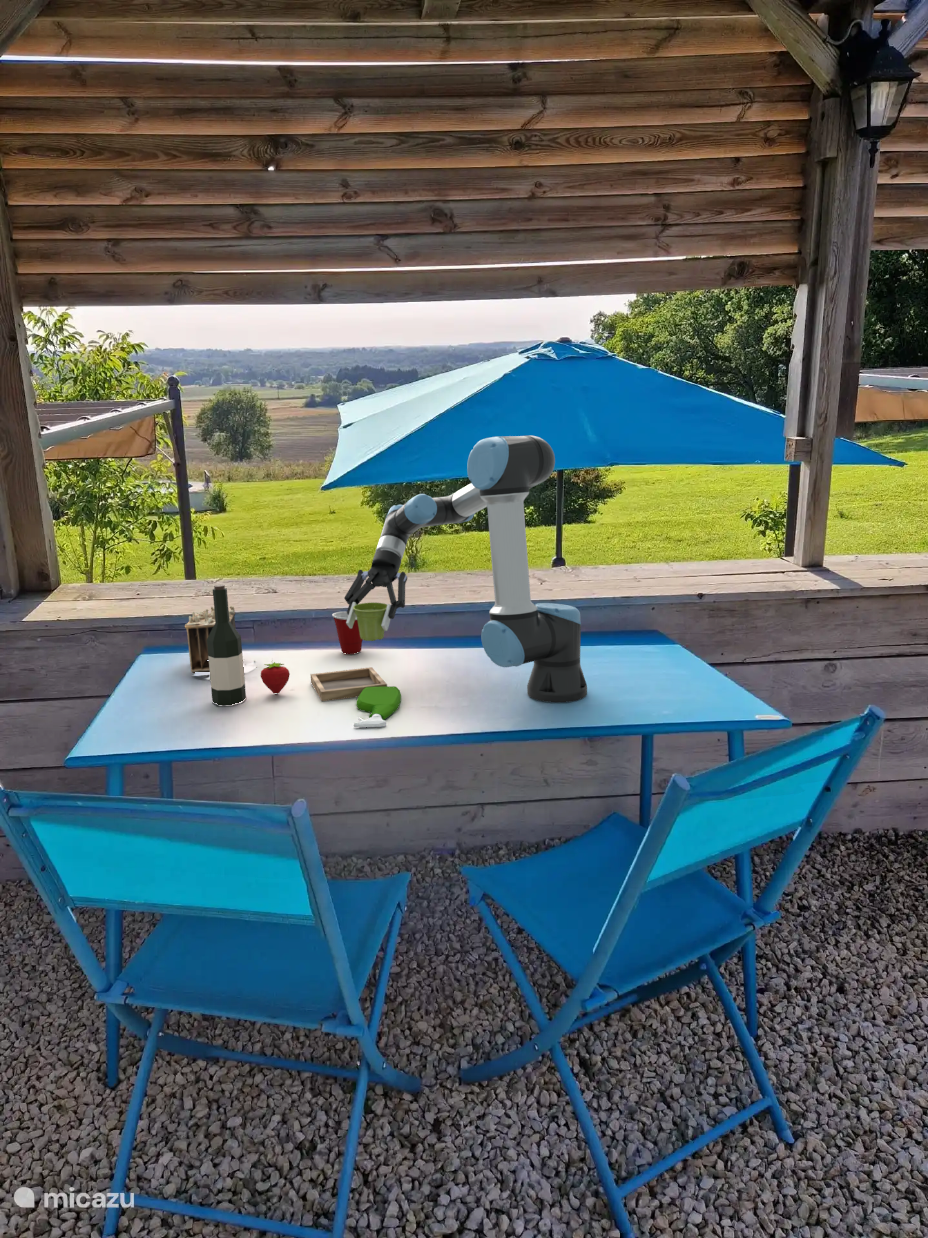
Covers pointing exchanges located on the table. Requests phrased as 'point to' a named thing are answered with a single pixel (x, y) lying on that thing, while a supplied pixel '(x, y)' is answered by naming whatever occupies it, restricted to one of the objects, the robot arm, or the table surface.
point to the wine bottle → (225, 654)
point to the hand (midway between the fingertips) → (366, 627)
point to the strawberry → (275, 676)
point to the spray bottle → (378, 705)
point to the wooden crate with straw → (202, 637)
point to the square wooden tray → (345, 683)
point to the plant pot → (370, 620)
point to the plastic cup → (347, 634)
